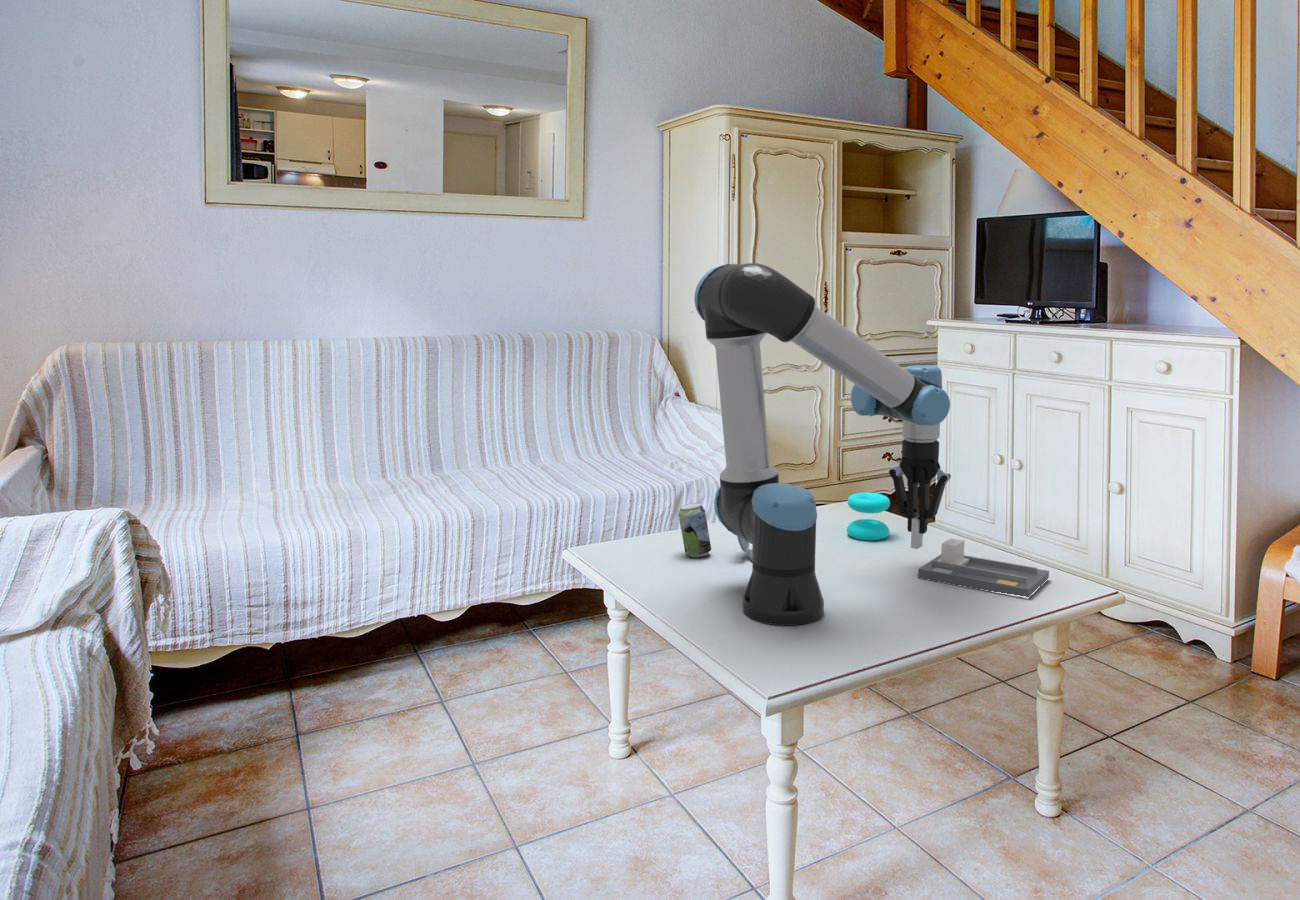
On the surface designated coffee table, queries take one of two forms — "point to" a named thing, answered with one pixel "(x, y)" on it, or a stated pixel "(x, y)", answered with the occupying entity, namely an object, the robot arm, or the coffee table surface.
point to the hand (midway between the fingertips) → (916, 546)
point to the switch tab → (953, 552)
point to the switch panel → (986, 575)
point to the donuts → (868, 527)
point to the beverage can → (694, 530)
